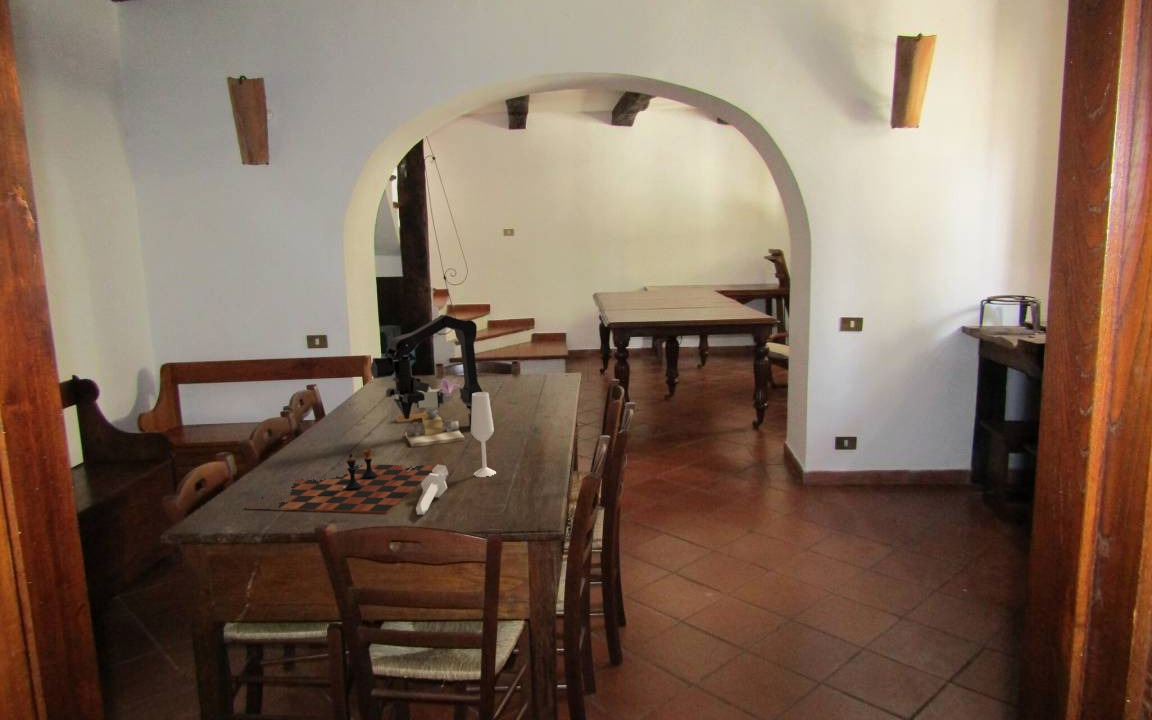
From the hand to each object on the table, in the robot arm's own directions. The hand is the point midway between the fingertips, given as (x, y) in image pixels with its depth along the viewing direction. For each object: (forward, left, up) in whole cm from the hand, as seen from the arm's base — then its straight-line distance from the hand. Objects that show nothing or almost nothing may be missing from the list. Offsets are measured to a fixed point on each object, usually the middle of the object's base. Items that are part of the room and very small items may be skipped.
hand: (407, 419), depth 263 cm
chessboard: (+22, +41, -9) cm, 48 cm away
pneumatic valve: (-13, -31, -8) cm, 34 cm away
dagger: (+2, +65, -8) cm, 65 cm away
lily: (-25, -61, -8) cm, 67 cm away
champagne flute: (-16, +47, -8) cm, 51 cm away
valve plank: (-9, 0, -8) cm, 12 cm away
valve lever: (-4, -2, -1) cm, 4 cm away
